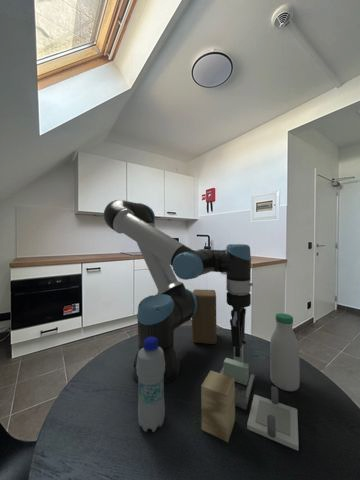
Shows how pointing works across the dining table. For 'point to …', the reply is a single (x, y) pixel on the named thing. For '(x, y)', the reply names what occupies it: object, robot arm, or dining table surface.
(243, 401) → the housing frame
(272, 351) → the milk bottle
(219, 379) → the block
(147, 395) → the bottle
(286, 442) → the seat plate
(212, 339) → the wooden block
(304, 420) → the dining table surface
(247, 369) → the cover
